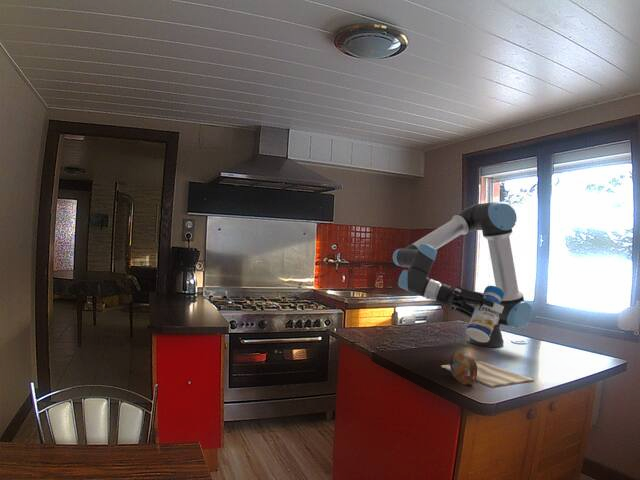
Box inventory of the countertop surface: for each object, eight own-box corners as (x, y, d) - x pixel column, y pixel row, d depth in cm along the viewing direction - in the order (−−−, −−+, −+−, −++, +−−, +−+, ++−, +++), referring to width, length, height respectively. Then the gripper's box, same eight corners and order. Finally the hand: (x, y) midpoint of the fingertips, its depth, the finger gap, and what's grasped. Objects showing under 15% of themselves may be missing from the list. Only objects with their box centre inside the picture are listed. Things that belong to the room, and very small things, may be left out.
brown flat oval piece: (448, 373, 143) (450, 348, 144) (457, 373, 144) (459, 348, 144) (468, 388, 128) (469, 360, 129) (478, 389, 129) (479, 361, 129)
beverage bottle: (483, 345, 151) (500, 300, 160) (493, 339, 143) (510, 291, 152) (461, 333, 152) (479, 289, 161) (470, 326, 145) (488, 280, 154)
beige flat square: (480, 362, 160) (481, 361, 160) (534, 381, 140) (534, 379, 140) (441, 367, 150) (441, 365, 150) (492, 387, 131) (492, 385, 131)
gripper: (433, 313, 167) (492, 336, 157) (436, 286, 150) (502, 310, 141) (440, 297, 170) (498, 320, 161) (444, 269, 154) (509, 292, 144)
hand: (500, 315), depth 151 cm, fingers closed on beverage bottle, 8 cm apart
